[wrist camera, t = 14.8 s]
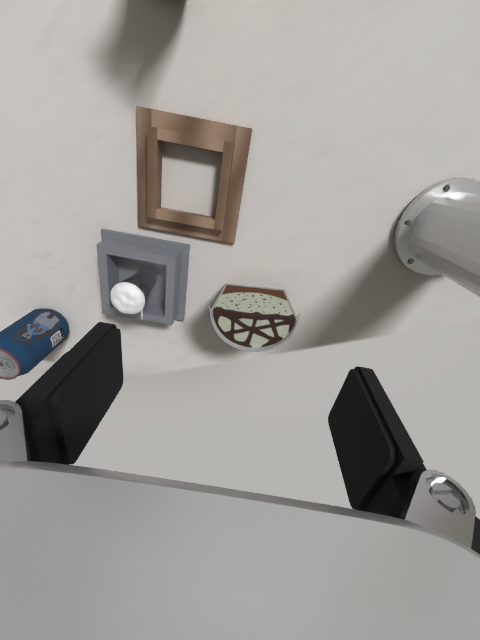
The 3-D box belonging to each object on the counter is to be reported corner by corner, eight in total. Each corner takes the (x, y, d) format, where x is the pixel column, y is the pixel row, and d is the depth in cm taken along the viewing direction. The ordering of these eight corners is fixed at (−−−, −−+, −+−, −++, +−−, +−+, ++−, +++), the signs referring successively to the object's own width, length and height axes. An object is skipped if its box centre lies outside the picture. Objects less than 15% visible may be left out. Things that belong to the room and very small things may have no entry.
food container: (214, 316, 47) (204, 350, 38) (216, 282, 44) (205, 311, 35) (287, 323, 47) (293, 359, 38) (293, 290, 44) (301, 321, 35)
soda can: (37, 335, 51) (-19, 378, 41) (29, 302, 48) (-35, 340, 38) (75, 341, 52) (28, 386, 41) (69, 308, 48) (17, 348, 38)
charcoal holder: (189, 244, 41) (183, 252, 38) (184, 319, 48) (178, 331, 44) (103, 228, 41) (88, 234, 37) (109, 305, 47) (96, 317, 44)
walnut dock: (252, 129, 34) (251, 127, 32) (234, 242, 41) (233, 246, 39) (138, 106, 33) (131, 103, 32) (139, 225, 40) (134, 227, 39)
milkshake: (157, 298, 45) (132, 330, 37) (129, 277, 44) (96, 305, 35) (172, 279, 44) (151, 308, 35) (144, 257, 42) (114, 281, 33)
